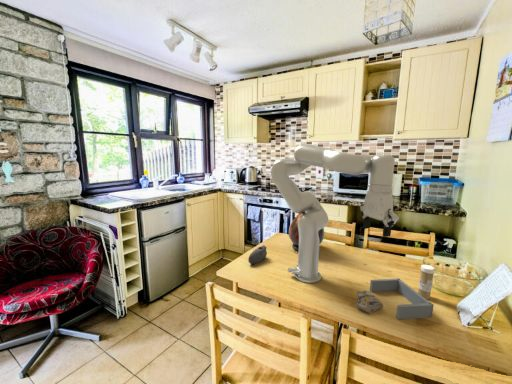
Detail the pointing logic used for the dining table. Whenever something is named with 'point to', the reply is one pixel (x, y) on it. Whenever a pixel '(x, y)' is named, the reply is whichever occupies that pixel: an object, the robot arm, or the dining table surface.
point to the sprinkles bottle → (426, 281)
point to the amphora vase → (295, 233)
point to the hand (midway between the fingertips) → (375, 232)
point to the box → (406, 311)
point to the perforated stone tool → (257, 255)
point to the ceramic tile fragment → (368, 302)
